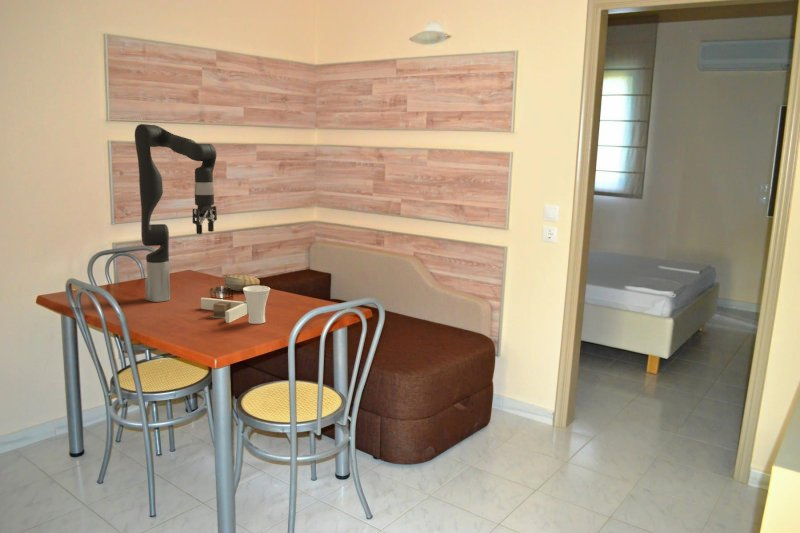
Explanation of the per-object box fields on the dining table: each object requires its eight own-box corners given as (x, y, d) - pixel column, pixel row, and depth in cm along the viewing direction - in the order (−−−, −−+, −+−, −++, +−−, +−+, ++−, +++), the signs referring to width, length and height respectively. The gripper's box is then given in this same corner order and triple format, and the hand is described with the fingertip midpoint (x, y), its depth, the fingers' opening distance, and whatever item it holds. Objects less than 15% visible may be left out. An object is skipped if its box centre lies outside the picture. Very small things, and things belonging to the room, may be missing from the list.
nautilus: (211, 289, 316) (237, 286, 327) (238, 294, 302) (265, 290, 313) (211, 272, 315) (237, 270, 326) (238, 276, 301) (265, 274, 312)
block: (224, 317, 265) (224, 305, 264) (213, 316, 266) (213, 304, 265) (231, 314, 270) (231, 302, 269) (220, 313, 271) (220, 301, 270)
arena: (180, 317, 264) (180, 304, 263) (203, 307, 279) (203, 295, 278) (229, 322, 258) (229, 310, 257) (249, 312, 273) (249, 300, 272)
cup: (257, 327, 254) (256, 292, 251) (237, 322, 259) (236, 288, 256) (276, 321, 262) (275, 288, 260) (256, 316, 268) (256, 284, 265)
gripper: (202, 195, 262) (203, 235, 265) (221, 192, 275) (222, 231, 278) (186, 194, 264) (187, 234, 267) (205, 191, 277) (206, 230, 280)
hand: (205, 232), depth 273 cm, fingers open, 8 cm apart
